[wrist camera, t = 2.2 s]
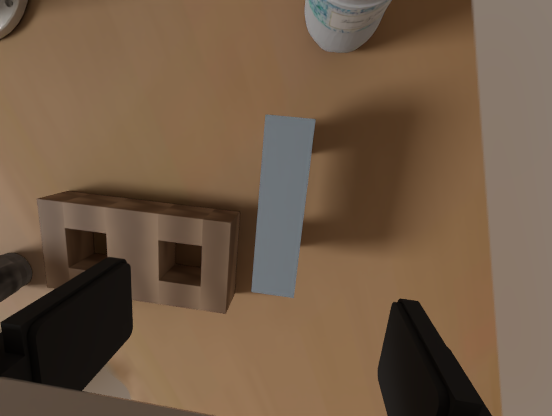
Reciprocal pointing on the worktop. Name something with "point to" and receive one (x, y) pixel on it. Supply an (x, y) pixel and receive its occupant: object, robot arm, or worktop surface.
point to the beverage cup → (13, 274)
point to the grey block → (281, 203)
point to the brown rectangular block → (143, 246)
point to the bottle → (343, 22)
